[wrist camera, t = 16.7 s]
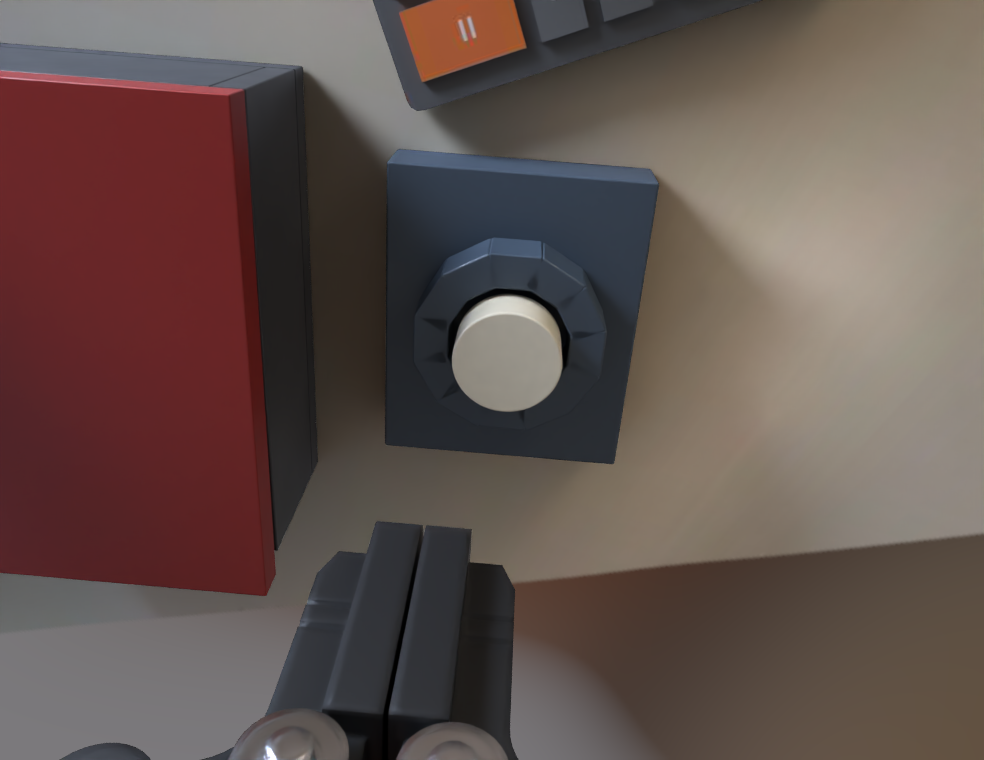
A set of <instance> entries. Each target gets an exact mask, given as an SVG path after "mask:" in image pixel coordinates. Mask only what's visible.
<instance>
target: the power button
mask: <svg viewBox="0 0 984 760" xmlns="http://www.w3.org/2000/svg"><path fill="white" fill-rule="evenodd" d="M452 368H453V373H454V376H455V379H456V381H457V383H458V385H459V386H460V388H461V389H462V390H463V392H464V393H465V394H466V395H467V396H468V397H469V398H470V399H472V400H473V401H474V402H476V403H477V404H479V405H481V406H483V407H486V408H488V409H491V410H495V411H502V412H514V411H520V410H525V409H528V408H530V407H533V406H535V405H537V404H538V403H540V402H541V401H543V400H544V399H545V398H546V397H548V395H549V394H550V393H551V392H552V391H553V390H554V388H555V387H556V385H557V383H558V381H559V378H560V376H561V371H562V345H561V334H560V330H559V327H558V325H557V322H556V321H555V319H554V317H553V316H552V315H551V313H550V312H549V311H548V310H547V309H546V308H545V307H544V306H542V305H541V304H540V303H538V302H536V301H535V300H533V299H531V298H528V297H525V296H522V295H516V294H499V295H495V296H491V297H488V298H485V299H483V300H482V301H480V302H478V303H477V304H475V305H474V306H473V307H472V308H471V309H470V310H469V311H468V312H467V313H466V314H465V315H464V317H463V319H462V320H461V323H460V325H459V328H458V331H457V335H456V340H455V344H454V348H453V353H452Z"/></svg>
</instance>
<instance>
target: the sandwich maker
mask: <svg viewBox="0 0 984 760" xmlns="http://www.w3.org/2000/svg"><path fill="white" fill-rule="evenodd" d="M0 71H12V72H25V73H38V74H51V75H64V76H76V77H89V78H102V79H115V80H128V81H141V82H154V83H167V84H179V85H192V86H205V87H218V88H231V89H242V90H244V95H245V110H246V125H247V141H248V156H249V171H250V186H251V202H252V217H253V232H254V248H255V263H256V278H257V293H258V309H259V324H260V339H261V355H262V370H263V385H264V400H265V416H266V431H267V446H268V462H269V477H270V492H271V508H272V523H273V538H274V550H275V551H276V550H278V548H279V546H280V544H281V542H282V539H283V537H284V535H285V533H286V531H287V528H288V526H289V524H290V522H291V519H292V517H293V515H294V513H295V511H296V508H297V506H298V504H299V502H300V500H301V497H302V495H303V493H304V491H305V489H306V486H307V484H308V482H309V480H310V478H311V475H312V473H313V471H314V469H315V467H316V465H317V462H318V453H317V427H316V401H315V375H314V349H313V323H312V297H311V271H310V245H309V219H308V193H307V167H306V141H305V115H304V89H303V67H302V66H293V65H280V64H267V63H254V62H241V61H228V60H215V59H202V58H189V57H176V56H163V55H150V54H137V53H124V52H111V51H98V50H85V49H72V48H59V47H46V46H33V45H20V44H8V43H0Z"/></svg>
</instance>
